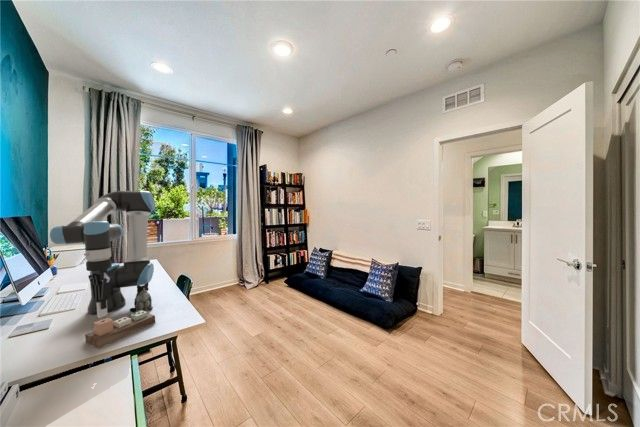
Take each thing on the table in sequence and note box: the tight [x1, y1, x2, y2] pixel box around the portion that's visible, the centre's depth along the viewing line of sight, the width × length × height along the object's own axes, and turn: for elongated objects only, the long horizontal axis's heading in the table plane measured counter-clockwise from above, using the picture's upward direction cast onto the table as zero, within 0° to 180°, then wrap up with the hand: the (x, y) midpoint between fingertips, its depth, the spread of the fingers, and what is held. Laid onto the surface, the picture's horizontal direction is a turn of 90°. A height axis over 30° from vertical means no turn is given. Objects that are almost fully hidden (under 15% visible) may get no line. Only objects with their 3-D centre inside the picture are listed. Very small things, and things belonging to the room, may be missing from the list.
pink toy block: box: [93, 317, 114, 337], centre depth 96 cm, size 4×4×5 cm
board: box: [84, 312, 156, 350], centre depth 102 cm, size 10×21×4 cm, turn 156°
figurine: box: [129, 283, 153, 313], centre depth 121 cm, size 10×10×15 cm
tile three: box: [130, 310, 148, 321], centre depth 108 cm, size 4×4×5 cm
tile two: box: [113, 316, 131, 328], centre depth 102 cm, size 4×4×5 cm
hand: (102, 316), depth 95 cm, fingers closed
